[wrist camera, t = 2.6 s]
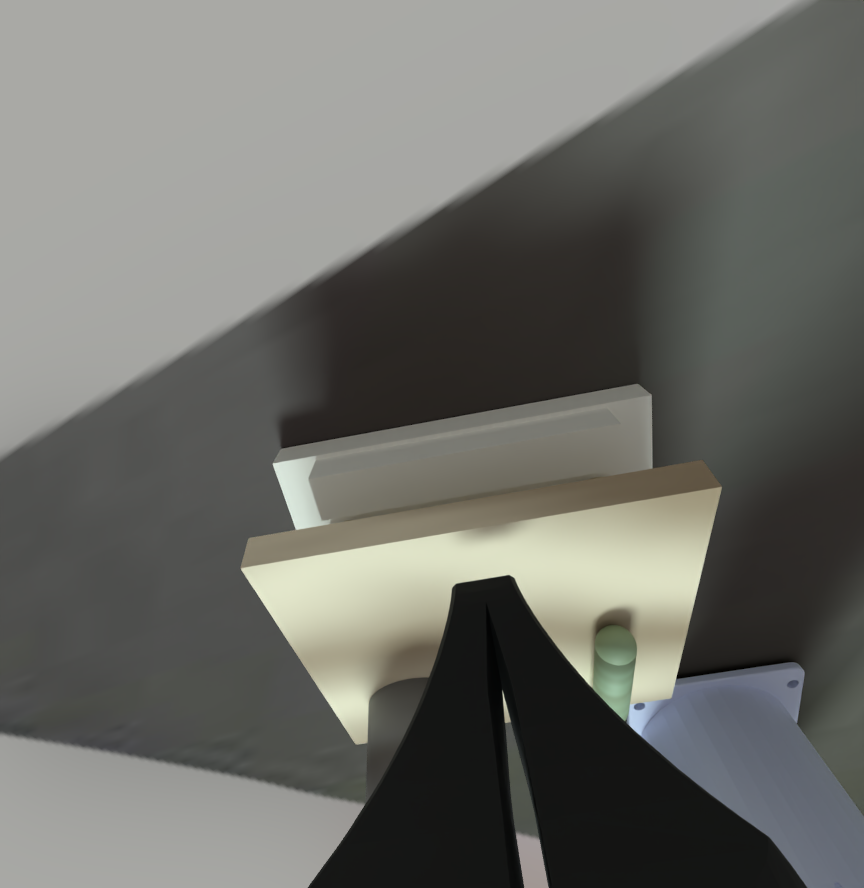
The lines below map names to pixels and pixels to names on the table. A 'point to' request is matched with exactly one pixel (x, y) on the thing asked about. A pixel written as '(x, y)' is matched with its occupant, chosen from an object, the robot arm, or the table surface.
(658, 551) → the plate
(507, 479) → the stand
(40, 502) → the table surface
